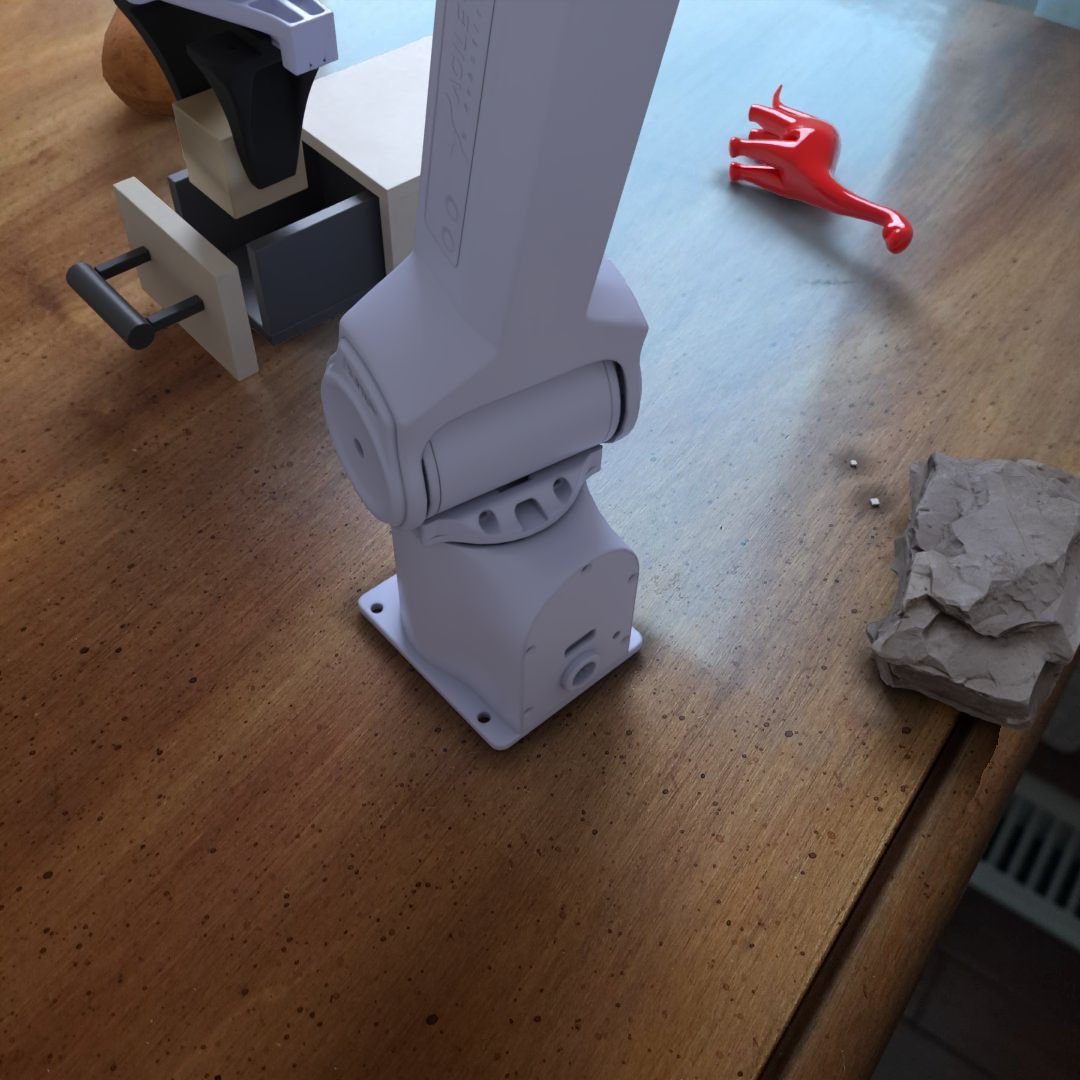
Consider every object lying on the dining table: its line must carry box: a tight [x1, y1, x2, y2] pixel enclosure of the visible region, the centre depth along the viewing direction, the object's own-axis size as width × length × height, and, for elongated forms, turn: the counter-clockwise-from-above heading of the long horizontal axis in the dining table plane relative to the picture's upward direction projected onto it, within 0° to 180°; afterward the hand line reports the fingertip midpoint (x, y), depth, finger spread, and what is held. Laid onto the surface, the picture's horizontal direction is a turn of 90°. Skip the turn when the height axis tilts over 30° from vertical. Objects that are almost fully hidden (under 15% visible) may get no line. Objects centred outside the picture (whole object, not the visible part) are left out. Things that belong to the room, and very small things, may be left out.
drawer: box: [65, 140, 386, 382], centre depth 60 cm, size 16×9×6 cm, turn 131°
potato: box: [101, 6, 177, 119], centre depth 74 cm, size 9×11×8 cm
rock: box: [865, 451, 1080, 731], centre depth 50 cm, size 14×9×4 cm
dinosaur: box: [728, 84, 914, 255], centre depth 70 cm, size 4×15×12 cm
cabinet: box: [301, 33, 433, 276], centre depth 65 cm, size 13×11×8 cm
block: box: [172, 88, 308, 219], centre depth 54 cm, size 4×4×4 cm
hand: (245, 156), depth 55 cm, fingers closed on block, 4 cm apart
